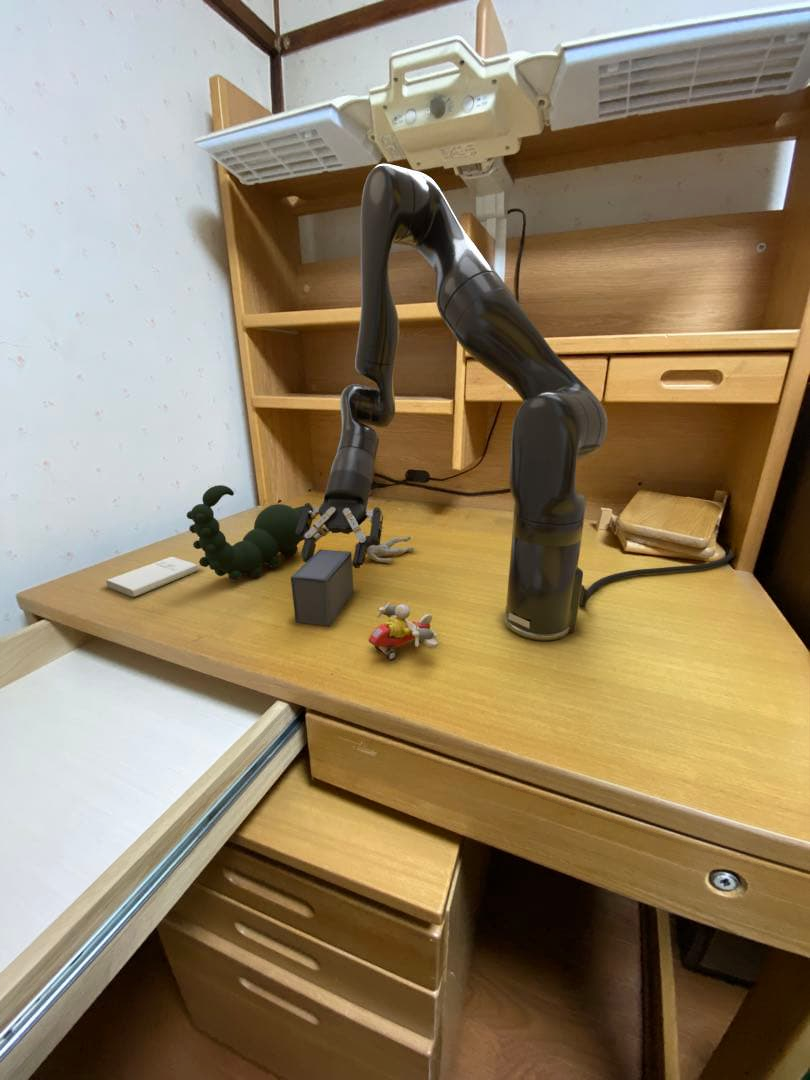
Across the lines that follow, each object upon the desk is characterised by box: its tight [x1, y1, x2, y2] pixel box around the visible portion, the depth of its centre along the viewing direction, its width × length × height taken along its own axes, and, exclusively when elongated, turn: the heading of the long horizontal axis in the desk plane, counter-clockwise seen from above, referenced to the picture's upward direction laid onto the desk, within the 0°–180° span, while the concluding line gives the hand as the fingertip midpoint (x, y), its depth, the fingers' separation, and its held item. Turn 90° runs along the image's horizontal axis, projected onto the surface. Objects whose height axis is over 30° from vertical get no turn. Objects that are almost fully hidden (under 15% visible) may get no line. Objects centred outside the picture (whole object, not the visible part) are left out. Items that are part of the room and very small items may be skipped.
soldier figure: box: [354, 526, 415, 563], centre depth 92 cm, size 8×5×12 cm
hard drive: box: [105, 556, 199, 598], centre depth 84 cm, size 2×8×12 cm
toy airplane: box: [368, 602, 439, 661], centre depth 63 cm, size 9×9×6 cm
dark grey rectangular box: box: [290, 549, 355, 627], centre depth 73 cm, size 11×6×8 cm, turn 167°
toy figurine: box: [186, 484, 304, 582], centre depth 86 cm, size 9×19×25 cm
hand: (331, 564), depth 75 cm, fingers open, 8 cm apart
